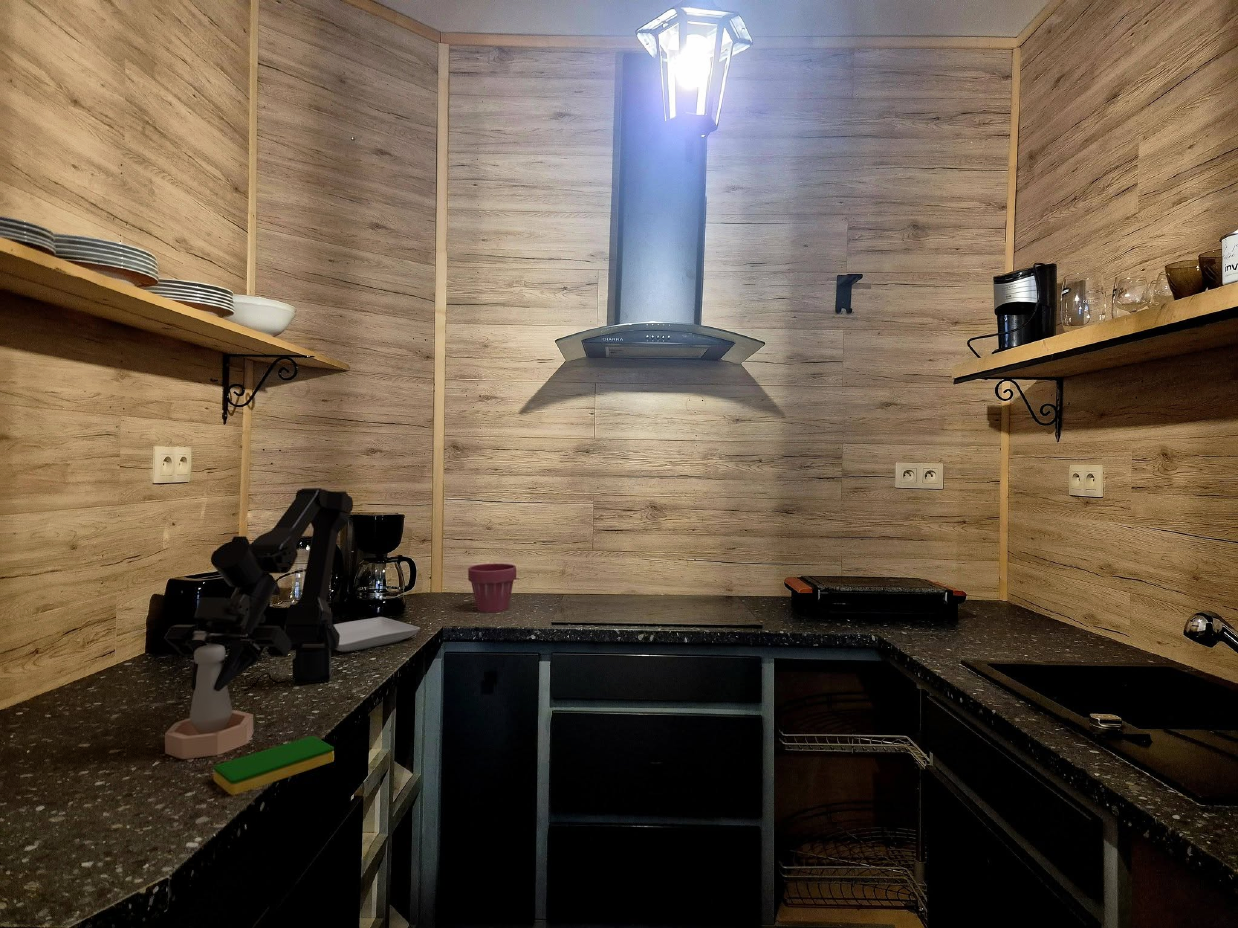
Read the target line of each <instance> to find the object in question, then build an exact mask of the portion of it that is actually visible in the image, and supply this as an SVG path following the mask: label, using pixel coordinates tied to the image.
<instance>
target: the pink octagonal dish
mask: <svg viewBox="0 0 1238 928" xmlns="http://www.w3.org/2000/svg"><path fill="white" fill-rule="evenodd" d="M253 734H254V714H253V713H249V712H244V711H240V710H235V709H234V710H233V709H232V715H231V717H230V719H229V721H228V723H227V725H226V727H225V729H224V730H221V731H219V732H216V733H210V734H198V733H197V732H196V730H195V728H194V727H193V725H192V724H191V722H190V717H188V718H186V719H182V720H180V721H177V722H174V724H172V726H171V727H169V729H168V730H167V731H166V732H165V733H164V744H165V745H164V748H165V750H164V752H165V753H164V754H166V755H168V756H169V755H170V756H172V757H175V758H177V759H181V760H188V759H196V758H204V757H211V756H212V757H213V756H219V755H221V754H224V753H226V752H227V753H228V752H230V751H232V750H234V749H238V748H240V747H242V746H245V745H247V744H248V743H249V741H250V739H251V737H252V736H253Z"/></svg>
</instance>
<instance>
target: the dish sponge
mask: <svg viewBox="0 0 1238 928" xmlns="http://www.w3.org/2000/svg"><path fill="white" fill-rule="evenodd" d="M334 750H335V746H332V745H330V744H329V743H327V742H325V741H323V740H321V739H320V738H318V737H317V736H314V735H310V736H308V737H304V738H300V739H298V740H295V741H291V742H287V743H284V744H281V745H278V746H275V747H270V748H268V749H265V750H262V751H258V752H254V753H252V754H249V755H244V756H242V757H238V758H235V759H231V760H229V761H225V762H221V763H218V764H216V765H214V766H213V782H214V783H216V784H217V785H218V786H219V787H221V788H222V789H223V790H224V791H225V792H227V793H228V794H229V795H230V794H231V795H230V796H236V795H238V794H242V793H245V792H247V791H250V789H251V790H254V789H256V788H259V786H260V787H262V786H265V785H268V784H271V783H274V782H277V781H280V780H283V779H286V778H289V777H291V776H295V775H297V774H298V775H299V774H300V773H303V772H307V771H309V770H312V769H316V768H318V767H321V766H324V765H328V764H331V763H333V762H334V760H335V751H334ZM244 791H245V792H244ZM241 792H242V793H241ZM235 794H236V795H235Z"/></svg>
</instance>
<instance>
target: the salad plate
mask: <svg viewBox="0 0 1238 928" xmlns="http://www.w3.org/2000/svg"><path fill="white" fill-rule="evenodd" d="M333 625H334V627H335V628H336V630H337V631H338V633H339V635H340V639H339V640H340V641H339V645H338V648H337V649H334V650H336V651H337V652H343V653H347V652H348V653H349V652H355V651H360V650H361V651H362V650H364V649H365V650H366V649H369V648H375V647H379V646H385V645H389V644H393V643H398V642H401V641H403V640H405V639H408V638H410V637H412V636H414V635H416V634H417V633H418V632H419V631H420V630H421V628H420V627H419V626H416V625H412V624H410V623H405V622H403V621H398V620H395V619H393V618H387V617H384V616H378V617H372V618H367V619H366V618H364V619H359V620H353V621H345V622H340V623H336V624H333Z"/></svg>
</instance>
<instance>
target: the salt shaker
mask: <svg viewBox="0 0 1238 928" xmlns="http://www.w3.org/2000/svg"><path fill="white" fill-rule="evenodd" d="M225 647H226V646H222V645H206V646H202V647H200V648H198V649H196V650H195V652H194V656H193V662H194V661H195V663H196V664H198V670H197V676H196V687H195V691H194V690H193V694H192V695H193V696H192V700H191V706H190V712H189V718H190V722H191V724H192V725H193V727H194V728H195V730H196V732H197V733H198V734H210V733H216V732H219V731H221V730H224V729H225V727H226V725H227V723H228V721H229V719H230V717H231V715H232V710H233V708H232V702H231V697H230V694H229V689H228V684H227V685H226V686H225V687H224V688H223V689H221V690H220V691H215V690H214V686H215V683H216V680H217V678H218V676H219V674H220V672H221V670H222V668H223V663H222V661H224V660H226V656H227V655H226V654H227V653H226V648H225Z"/></svg>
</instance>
